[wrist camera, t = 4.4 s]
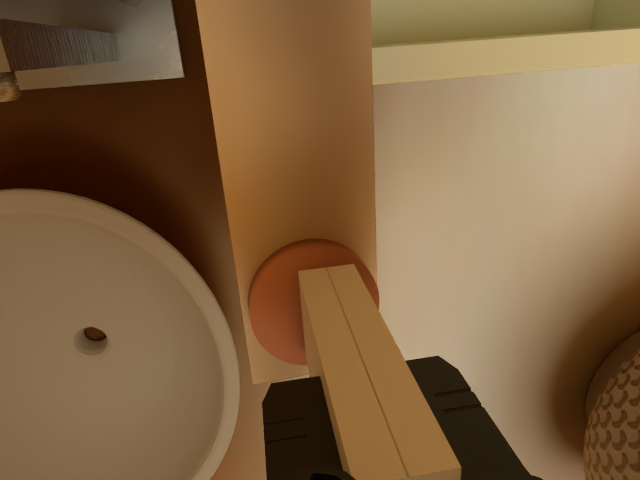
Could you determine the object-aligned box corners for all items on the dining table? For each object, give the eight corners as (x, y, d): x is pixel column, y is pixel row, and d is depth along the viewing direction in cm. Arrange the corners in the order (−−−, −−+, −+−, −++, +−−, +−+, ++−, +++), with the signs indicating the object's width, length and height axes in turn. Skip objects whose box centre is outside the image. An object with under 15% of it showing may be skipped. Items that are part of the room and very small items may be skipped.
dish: (-121, 162, 20) (-231, 196, 15) (230, 156, 22) (228, 184, 17) (-16, 476, 26) (-69, 566, 22) (246, 446, 28) (248, 522, 24)
